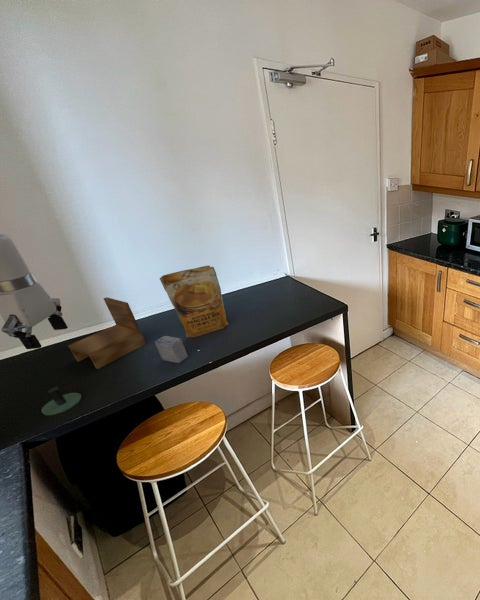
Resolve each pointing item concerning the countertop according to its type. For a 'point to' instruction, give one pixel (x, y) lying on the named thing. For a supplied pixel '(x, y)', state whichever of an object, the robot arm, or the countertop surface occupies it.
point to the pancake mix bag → (196, 300)
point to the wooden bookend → (111, 337)
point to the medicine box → (171, 349)
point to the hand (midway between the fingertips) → (48, 338)
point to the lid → (60, 402)
